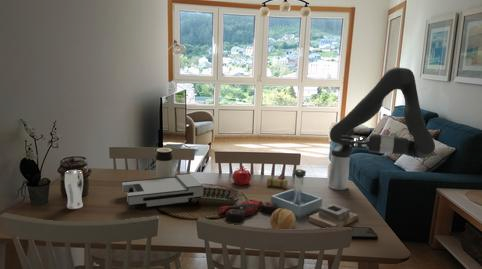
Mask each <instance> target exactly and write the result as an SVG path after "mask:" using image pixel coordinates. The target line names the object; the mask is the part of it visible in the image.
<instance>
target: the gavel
mask: <svg viewBox="0 0 482 269" xmlns="http://www.w3.org/2000/svg"><path fill="white" fill-rule="evenodd" d="M284 178H285V175H284V174H283V173H281V174H279V176H278V177H277V178H273V177H269V176H268V177H267V179H266V186H267V187H276V188H282V189H287V188H288V179H284Z"/></svg>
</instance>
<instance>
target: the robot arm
mask: <svg viewBox="0 0 482 269" xmlns="http://www.w3.org/2000/svg"><path fill="white" fill-rule="evenodd" d="M416 84H417V83H416V79H415V75H414V72H413V70H411V69H409V68H405V67H399V66H398V67H392V68H390V69H388V70H387V71H386V72H385V73H384V74H383V76H382V77H381V78H380V79H379V81H378V82H377V83H376V85H375V86H374V87H373V88H372V89H371V90H370V91H369V92H368V93H367V94H366V95H365V96H364V97H363V98H362V99H361V100H360V101H359V102H358V103H357V104H356V105H355V106H354V107H353V108H352V109H351V110H350V111H349V112H348V113H347V115H346V116H344V118H342V119H341V120H340V121H338V122H337V123H336V124H334V125H333V126H332V128H331V129H330V131H329V138H330V141H332V142H333V143H336V144H337V145H336V146H335V147H334V148H332V150H331V155H330V156H331V158H330V168H329V178H328V179H329V180H328V187H329V189H332V190H336V191H345V190H347V188H348V185H349V184H348V182H349V173H350V169H349V168H350V161H351V160H350V159H351V154H352V152H353V148H355V149H367V151H368V152H369V153H379V154H392V155H393V154H396V155H406V156H408V157H412V158H418V159H425V158H428V157H430V156H431V155H432V154H433V153H434V152H435V149H436V143H435V141H434V138H433V136H432V134H431V133H430V131H429V129H428V127H427V123H426V122H425V118H424V115H423V113H422V110H421V106H420V100H419V95H418V90H417V85H416ZM395 90H400V91H401V93H402V95H403V98H404V109H403V110H404V111H403V118H404V122H405V126H406V128H407V132H408V133H409V135H410V136H412V138H413V140H409V139H408V138H406V137H401V136H400V137H399V136H392V135H388V134H387V135H386V134H376V133H375V134H374V133H370V134H369V137H368V138H367V136H365V135H364V136H363V135H356V134H355V128H357V127H359V126H361V125H363V124H365V123H367V122H368V121H369V120H371V119H373V118H374V116H376V115H377V114H378V113H379V111H380V110H381V108H382V106H383V102H384V99H385V98H386V97H387V96H388V95H389V94H390V93H391V92H393V91H395Z"/></svg>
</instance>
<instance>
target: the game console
mask: <svg viewBox="0 0 482 269" xmlns="http://www.w3.org/2000/svg"><path fill="white" fill-rule="evenodd" d="M120 182H121V185H120V187H121V190H122V192H123V193H126V201H127V203H128V205H129V206H131V205H133V206H134V208H135V209H136V208H139V209H140V211H145V210H146V211H148V210H154V209H155V210H156V209H162V208H169V207H178V206H180V207H181V206H186V205H193V204H195V203H194V202H192V201H191V200H192V198H201V197H202V198H203V197H204V186H203V185H202V184H201V182H199V181H198V180H197V179H196V178H195V177H194V176H193V175H192V174H191V173H190V172H185V173H176V174H174V176H172V177H166V178H156V177H155V178H146V179H135V180H134V179H133V180H123V181H120ZM190 199H191V200H190Z"/></svg>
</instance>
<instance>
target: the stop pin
mask: <svg viewBox="0 0 482 269" xmlns="http://www.w3.org/2000/svg"><path fill="white" fill-rule="evenodd" d="M294 175H295V178H294V188H293V189H294V194H293V203H294V204H297V205H299V206H300V205H301V197H302V192H303V187H304V180H305V178H304V177H305V176H306V170H304V169H298V168H297V169H294Z"/></svg>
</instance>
